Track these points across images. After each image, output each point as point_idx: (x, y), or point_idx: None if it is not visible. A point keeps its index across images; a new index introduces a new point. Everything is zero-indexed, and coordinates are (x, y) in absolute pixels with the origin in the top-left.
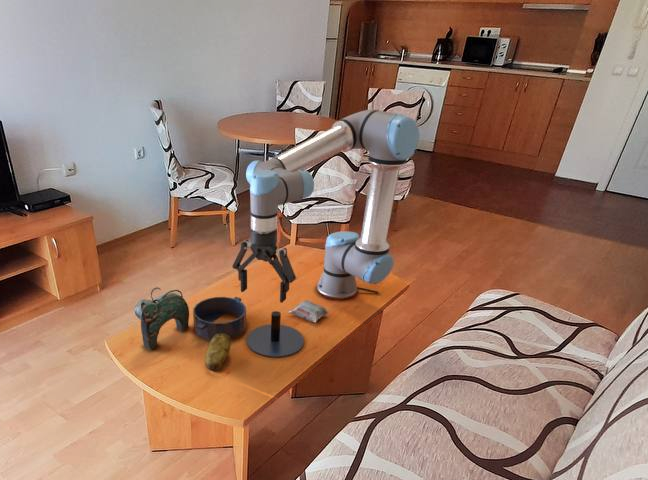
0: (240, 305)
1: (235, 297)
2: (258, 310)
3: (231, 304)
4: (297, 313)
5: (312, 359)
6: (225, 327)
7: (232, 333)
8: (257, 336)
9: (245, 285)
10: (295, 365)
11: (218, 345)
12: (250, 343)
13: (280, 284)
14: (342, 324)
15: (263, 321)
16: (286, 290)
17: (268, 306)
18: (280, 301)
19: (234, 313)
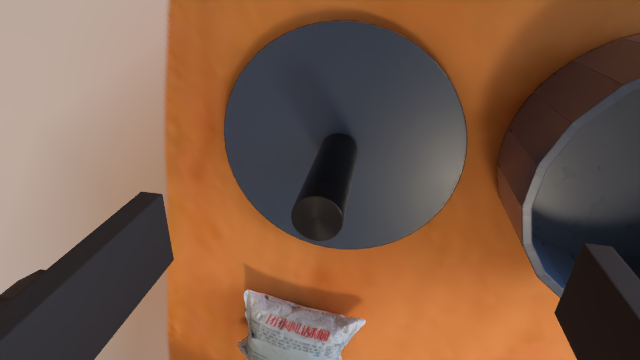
0: None
1: None
2: (489, 314)
3: None
4: (327, 319)
5: (167, 99)
6: (601, 82)
7: (544, 99)
8: (419, 142)
9: (587, 327)
10: (197, 31)
11: None
12: (429, 77)
13: (1, 339)
14: (194, 312)
15: (443, 257)
16: (18, 288)
17: (460, 343)
18: (151, 198)
19: None
